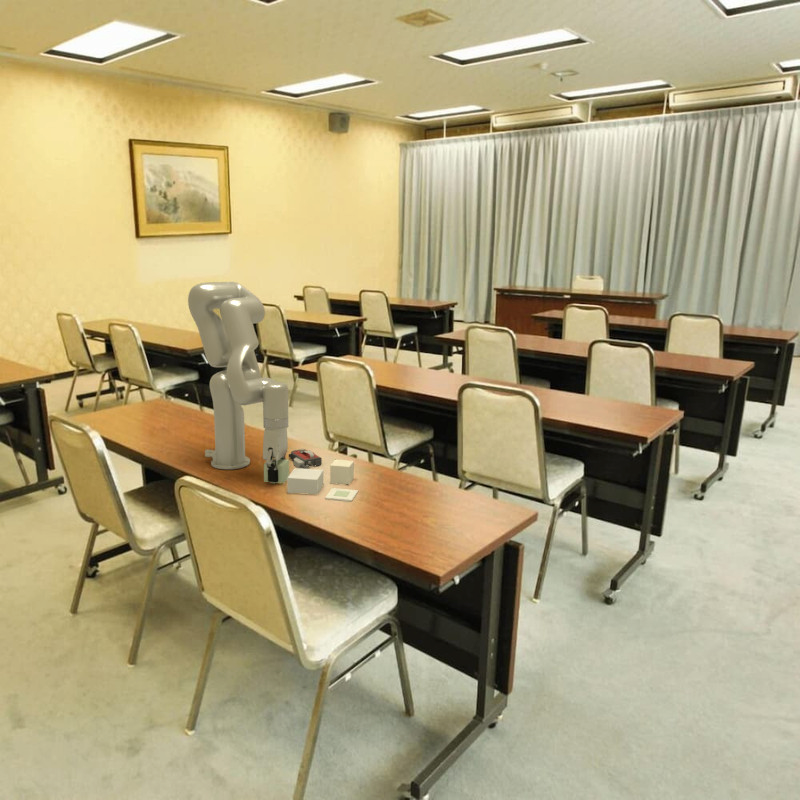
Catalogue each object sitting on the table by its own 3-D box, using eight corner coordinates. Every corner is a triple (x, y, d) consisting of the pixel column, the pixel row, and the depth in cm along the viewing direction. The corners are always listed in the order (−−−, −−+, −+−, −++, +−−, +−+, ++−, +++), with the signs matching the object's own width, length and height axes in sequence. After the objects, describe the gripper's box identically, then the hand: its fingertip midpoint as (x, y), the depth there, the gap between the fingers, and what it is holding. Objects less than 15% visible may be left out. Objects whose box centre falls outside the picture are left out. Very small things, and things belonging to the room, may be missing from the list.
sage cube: (264, 482, 202) (263, 464, 201) (271, 476, 208) (270, 458, 207) (282, 484, 201) (282, 465, 200) (289, 477, 207) (288, 459, 206)
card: (324, 499, 190) (324, 497, 190) (332, 489, 198) (332, 487, 198) (351, 501, 189) (351, 499, 189) (358, 491, 197) (358, 489, 197)
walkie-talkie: (282, 459, 225) (309, 476, 210) (282, 447, 224) (309, 463, 209) (305, 455, 230) (333, 472, 214) (305, 443, 229) (333, 459, 213)
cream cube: (330, 483, 203) (330, 465, 202) (335, 477, 209) (335, 459, 207) (349, 485, 202) (349, 466, 201) (353, 478, 208) (353, 460, 207)
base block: (287, 493, 194) (287, 477, 193) (294, 483, 203) (294, 468, 202) (317, 495, 194) (317, 479, 192) (323, 485, 202) (323, 469, 201)
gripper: (274, 414, 209) (275, 468, 213) (253, 428, 193) (255, 486, 197) (296, 416, 208) (297, 470, 212) (277, 430, 192) (278, 488, 196)
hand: (276, 477), depth 204 cm, fingers closed on sage cube, 6 cm apart
